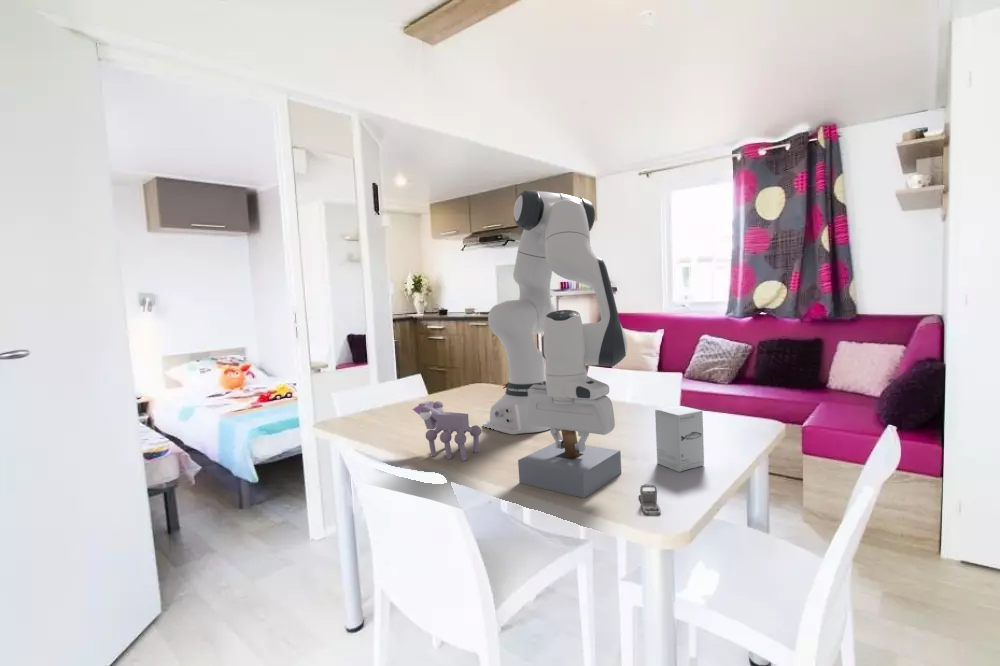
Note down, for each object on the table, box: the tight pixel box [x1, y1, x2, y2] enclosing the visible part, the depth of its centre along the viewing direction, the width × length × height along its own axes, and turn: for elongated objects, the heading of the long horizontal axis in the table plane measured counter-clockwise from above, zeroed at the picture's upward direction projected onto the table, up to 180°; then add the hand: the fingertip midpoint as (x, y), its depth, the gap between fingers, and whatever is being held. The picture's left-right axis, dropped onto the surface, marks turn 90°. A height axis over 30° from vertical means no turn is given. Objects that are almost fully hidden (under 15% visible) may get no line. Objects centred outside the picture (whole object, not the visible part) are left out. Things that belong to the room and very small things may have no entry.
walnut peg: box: [560, 429, 580, 459], centre depth 108 cm, size 3×3×10 cm
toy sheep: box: [412, 400, 482, 462], centre depth 133 cm, size 20×11×14 cm, turn 59°
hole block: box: [517, 441, 622, 499], centre depth 109 cm, size 16×16×5 cm
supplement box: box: [654, 405, 705, 473], centre depth 112 cm, size 7×7×13 cm
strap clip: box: [638, 483, 662, 516], centre depth 93 cm, size 8×3×4 cm, turn 172°
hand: (570, 449), depth 108 cm, fingers closed on walnut peg, 3 cm apart
